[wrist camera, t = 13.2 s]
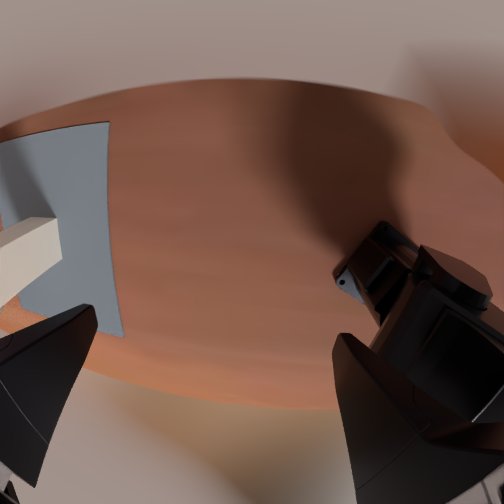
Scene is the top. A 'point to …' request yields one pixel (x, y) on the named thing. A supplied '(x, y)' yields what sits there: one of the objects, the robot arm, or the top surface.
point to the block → (27, 253)
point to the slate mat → (65, 217)
